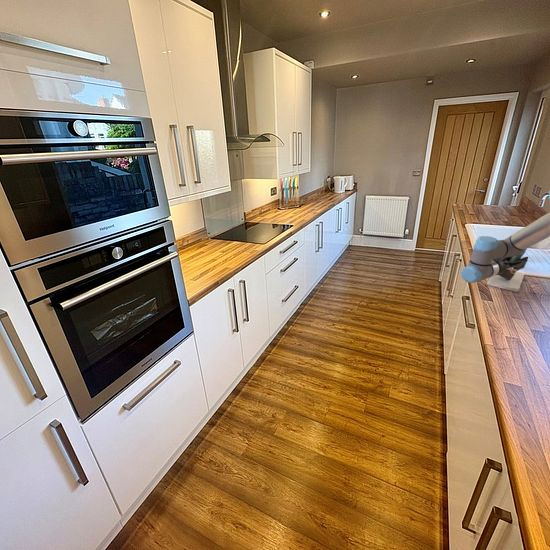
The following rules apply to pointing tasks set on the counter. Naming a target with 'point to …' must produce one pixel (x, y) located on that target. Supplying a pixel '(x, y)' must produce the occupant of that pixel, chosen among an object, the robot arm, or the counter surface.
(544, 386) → the counter surface
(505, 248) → the robot arm
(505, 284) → the tile
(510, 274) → the brush
